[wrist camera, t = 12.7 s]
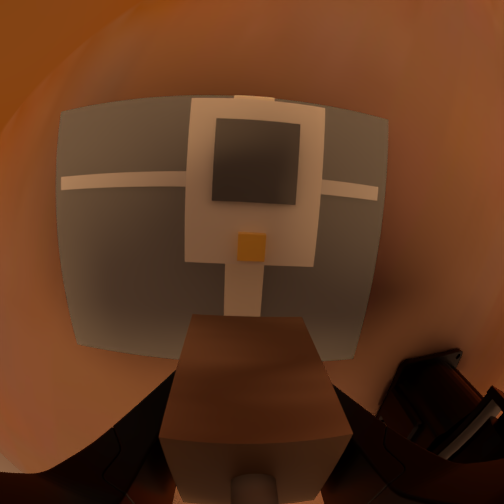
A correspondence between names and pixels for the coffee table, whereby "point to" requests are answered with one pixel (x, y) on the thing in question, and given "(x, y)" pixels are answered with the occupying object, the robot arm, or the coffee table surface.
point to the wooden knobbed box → (251, 413)
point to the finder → (253, 182)
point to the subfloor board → (173, 232)
